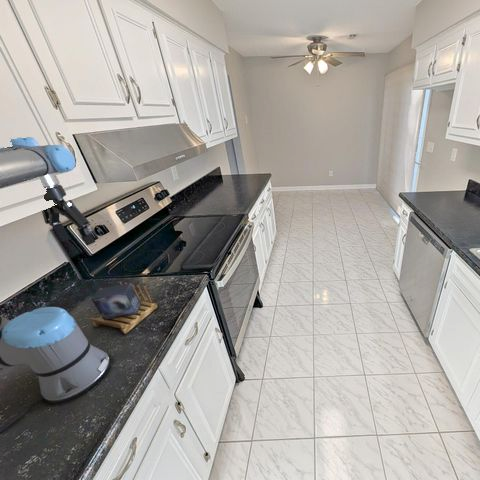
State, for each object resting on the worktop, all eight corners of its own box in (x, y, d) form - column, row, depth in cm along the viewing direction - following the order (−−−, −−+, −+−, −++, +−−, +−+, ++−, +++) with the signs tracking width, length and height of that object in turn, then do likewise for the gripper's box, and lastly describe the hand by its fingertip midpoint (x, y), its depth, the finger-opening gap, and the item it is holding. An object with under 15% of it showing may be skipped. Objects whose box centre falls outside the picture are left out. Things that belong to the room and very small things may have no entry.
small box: (103, 321, 91) (89, 299, 86) (111, 309, 97) (98, 288, 92) (136, 314, 94) (124, 292, 89) (141, 303, 99) (131, 281, 94)
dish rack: (125, 334, 89) (112, 311, 84) (94, 326, 93) (80, 304, 88) (157, 306, 101) (147, 285, 96) (129, 301, 105) (118, 280, 100)
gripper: (83, 184, 85) (112, 240, 95) (36, 182, 92) (67, 234, 102) (58, 191, 79) (91, 250, 89) (8, 188, 86) (44, 243, 96)
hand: (78, 241), depth 95 cm, fingers open, 13 cm apart
